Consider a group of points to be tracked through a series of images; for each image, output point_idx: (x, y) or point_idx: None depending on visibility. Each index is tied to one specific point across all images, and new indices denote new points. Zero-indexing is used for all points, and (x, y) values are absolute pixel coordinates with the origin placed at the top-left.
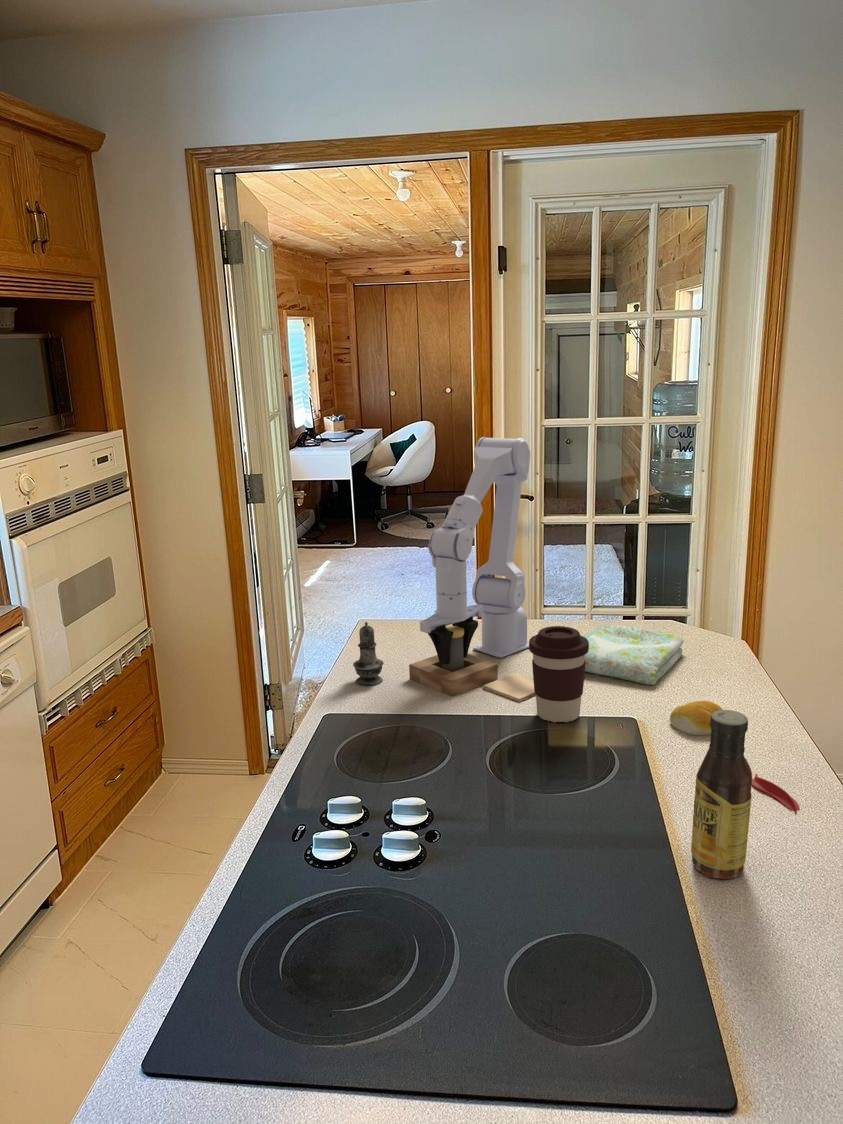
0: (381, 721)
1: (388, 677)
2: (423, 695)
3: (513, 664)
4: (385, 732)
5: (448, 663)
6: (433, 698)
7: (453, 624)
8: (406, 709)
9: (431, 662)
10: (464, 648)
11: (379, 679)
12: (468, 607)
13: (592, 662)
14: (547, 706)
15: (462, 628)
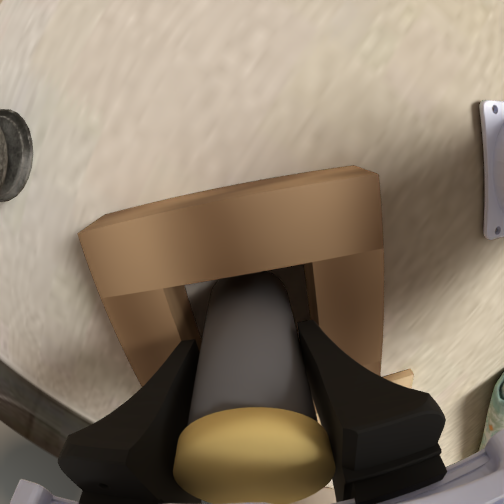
0: (6, 385)
1: (52, 154)
2: (103, 350)
3: (469, 297)
4: (13, 414)
5: None
6: (122, 378)
7: (337, 427)
8: (50, 381)
9: (174, 269)
10: (312, 391)
11: (14, 182)
12: (493, 494)
13: (491, 434)
14: None
15: (317, 486)
